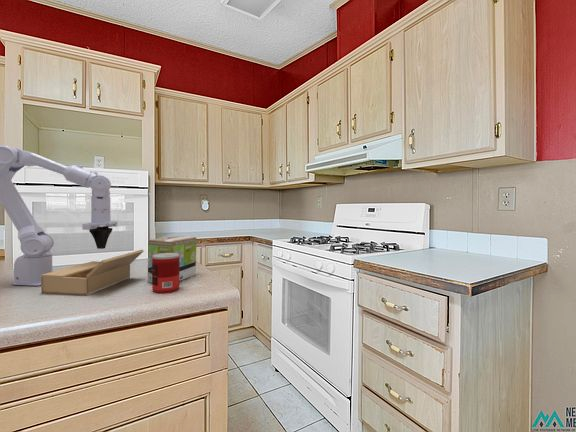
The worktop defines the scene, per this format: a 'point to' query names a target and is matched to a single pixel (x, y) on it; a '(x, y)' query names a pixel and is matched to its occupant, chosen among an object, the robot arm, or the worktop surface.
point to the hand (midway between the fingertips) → (101, 248)
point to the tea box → (175, 245)
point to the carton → (81, 279)
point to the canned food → (165, 272)
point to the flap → (114, 263)
